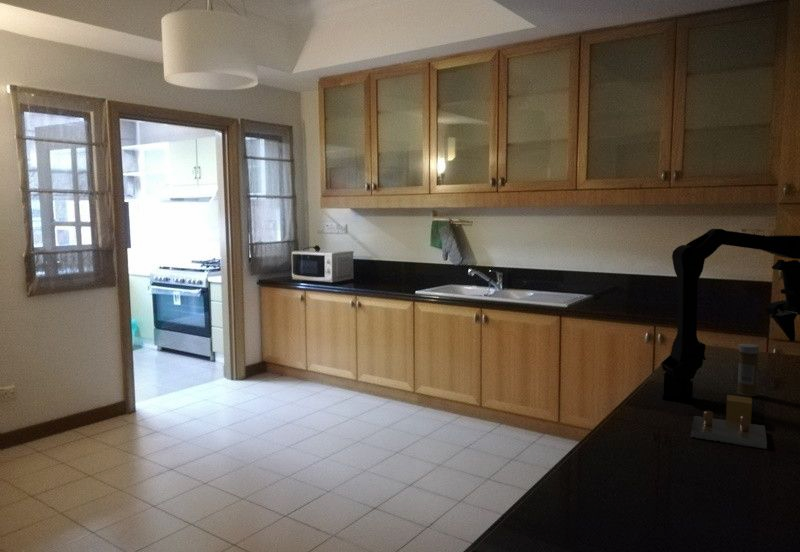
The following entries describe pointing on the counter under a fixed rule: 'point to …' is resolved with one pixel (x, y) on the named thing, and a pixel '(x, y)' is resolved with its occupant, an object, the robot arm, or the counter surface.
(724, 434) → the plate
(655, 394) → the counter surface
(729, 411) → the tan cardboard box
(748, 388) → the sprinkles bottle
